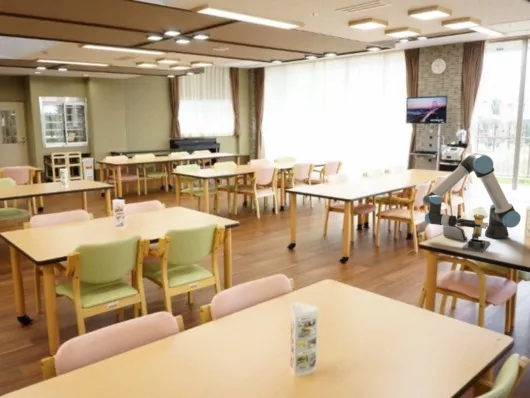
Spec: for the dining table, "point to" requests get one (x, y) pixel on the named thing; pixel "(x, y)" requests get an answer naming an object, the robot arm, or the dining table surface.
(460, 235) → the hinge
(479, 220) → the coupler
